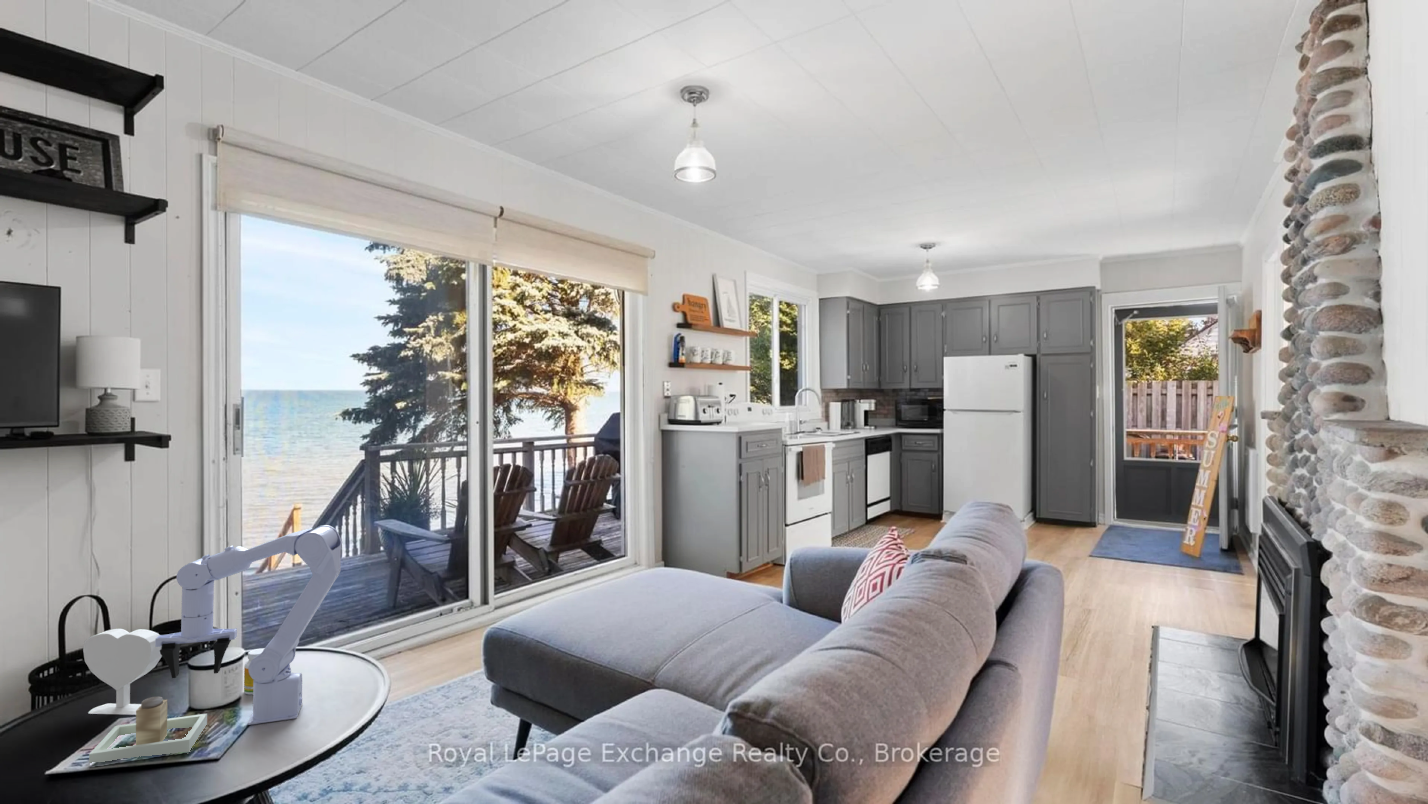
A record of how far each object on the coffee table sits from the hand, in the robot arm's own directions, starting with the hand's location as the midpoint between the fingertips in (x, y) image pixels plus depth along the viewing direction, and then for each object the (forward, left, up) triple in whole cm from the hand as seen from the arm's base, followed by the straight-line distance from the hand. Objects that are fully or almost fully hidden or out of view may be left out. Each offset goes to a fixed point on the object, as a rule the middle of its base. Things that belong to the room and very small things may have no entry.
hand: (196, 673), depth 151 cm
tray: (+5, +10, -10) cm, 15 cm away
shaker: (+5, +10, -10) cm, 15 cm away
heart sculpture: (+17, -12, -11) cm, 23 cm away
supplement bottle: (-9, -13, -11) cm, 19 cm away
